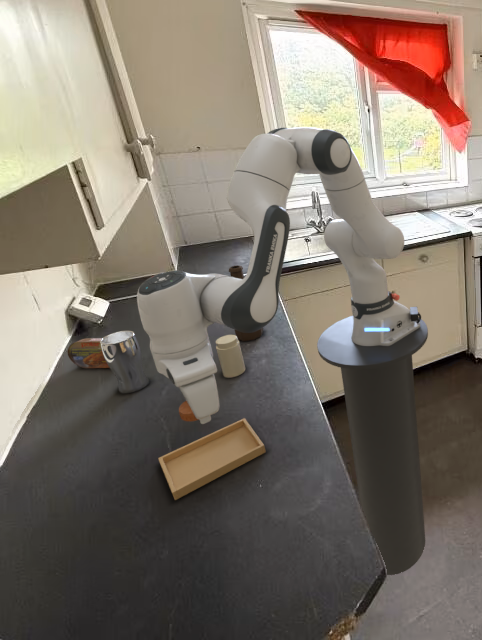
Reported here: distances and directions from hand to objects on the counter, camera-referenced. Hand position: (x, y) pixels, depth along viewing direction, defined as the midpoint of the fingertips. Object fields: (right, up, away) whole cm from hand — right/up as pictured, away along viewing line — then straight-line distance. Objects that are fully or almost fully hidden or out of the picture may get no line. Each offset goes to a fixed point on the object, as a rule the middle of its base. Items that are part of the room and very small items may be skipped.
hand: (200, 412), depth 86 cm
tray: (0, -12, +4) cm, 12 cm away
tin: (-53, +1, +34) cm, 63 cm away
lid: (0, +2, -1) cm, 2 cm away
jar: (-15, -1, +33) cm, 36 cm away
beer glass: (-37, -3, +26) cm, 45 cm away
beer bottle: (-21, +6, +51) cm, 56 cm away
